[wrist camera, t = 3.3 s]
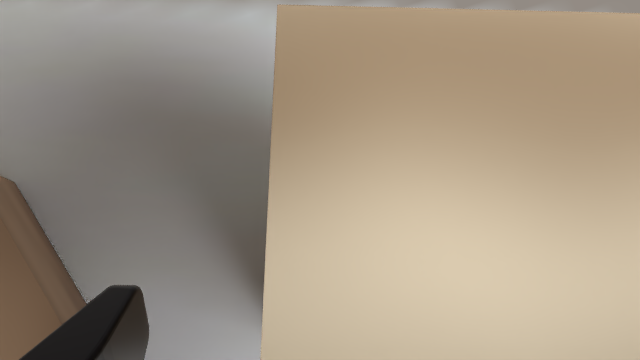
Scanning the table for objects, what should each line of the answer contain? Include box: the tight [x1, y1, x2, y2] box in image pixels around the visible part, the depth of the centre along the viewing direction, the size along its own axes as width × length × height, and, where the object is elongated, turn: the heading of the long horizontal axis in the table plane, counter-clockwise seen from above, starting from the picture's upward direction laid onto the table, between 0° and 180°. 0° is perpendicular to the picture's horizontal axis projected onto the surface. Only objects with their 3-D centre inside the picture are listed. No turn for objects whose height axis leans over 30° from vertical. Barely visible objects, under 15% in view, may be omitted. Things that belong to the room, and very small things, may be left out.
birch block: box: [260, 5, 640, 360], centre depth 12 cm, size 5×5×11 cm
